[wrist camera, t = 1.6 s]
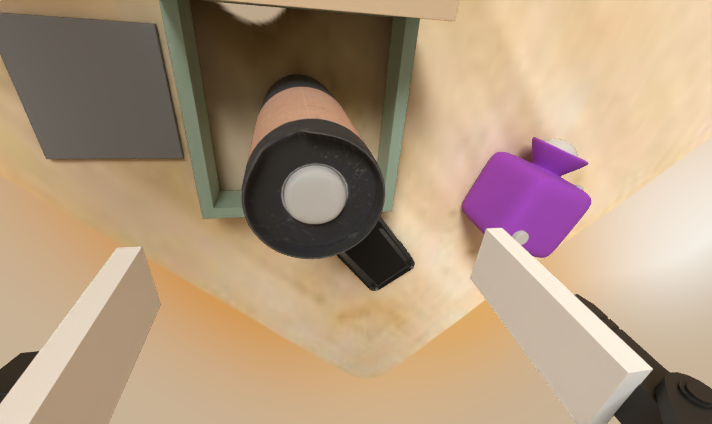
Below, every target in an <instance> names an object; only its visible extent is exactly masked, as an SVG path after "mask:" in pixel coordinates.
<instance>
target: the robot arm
mask: <svg viewBox="0 0 712 424" xmlns="http://www.w3.org/2000/svg"><path fill="white" fill-rule="evenodd" d="M470 279H471V280H472V281H473V283H474V284H475V285H476V287H477V288H478V290H479V291H480V292H481V294H482V295H483V296H484V298H485V299H486V300H487V302H488V303H489V305H490V306H491V307H492V309H493V310H494V311H495V313H496V314H497V316H498V317H499V318H500V320H501V321H502V322H503V324H504V325H505V326H506V328H507V329H508V331H509V332H510V333H511V335H512V336H513V337H514V339H515V340H516V342H517V343H518V344H519V346H520V347H521V348H522V350H523V351H524V353H525V354H526V355H527V356H528V358H529V359H530V361H531V362H532V363H533V365H534V366H535V368H536V369H537V370H538V372H539V373H540V374H541V375H542V377H543V378H544V380H545V381H546V383H547V384H548V385H549V386H550V388H551V389H552V391H553V392H554V394H555V395H556V396H557V398H558V399H559V400H560V402H561V403H562V404H563V406H564V407H565V408H566V410H567V411H568V413H569V414H570V415H571V417H572V418H573V419H574V421H575V422H576V424H607V423H608V422H609V420H610V419H611V418H612V417H613V416H615V417H616V418H617V419H618V420H619V422H620V423H621V424H712V389H711V388H710V387H708V386H707V385H705V384H704V383H702V382H701V381H699V380H697V379H695V378H692V377H691V376H688V375H685V374H681V373H678V372H676V373H670V372H669V371H667V370H666V369H665V368H664V367H663V366H661V365H660V364H659V363H658V362H657V361H656V360H655V359H654V358H653V357H651V356H650V355H649V354H648V353H647V352H646V351H645V350H643V348H641V347H640V346H639V345H638V344H637V343H636V342H635V341H634V340H632V338H631V337H629V336H628V335H627V334H626V333H625V332H624V331H623V330H620V329H619V327H618V326H617V325H616V324H615V323H614V322H613V321H612V320H611V319H608V317H607V316H606V315H605V314H604V313H603V312H602V311H601V310H600V309H598V308H597V307H596V306H595V305H594V304H592V303H591V302H589V301H587V300H586V299H584V298H583V297H581V296H579V295H578V294H576V295H573V294H572V293H571V292H570V291H569V290H568V289H567V288H566V287H565V286H564V285H563V284H562V283H561V282H560V281H558V280H557V279H556V278H555V277H554V276H553V275H552V274H551V273H550V272H549V271H548V270H547V269H545V267H543V266H542V265H541V264H540V263H539V262H538V261H537V260H536V259H535V258H534V257H533V256H532V255H531V254H530V253H529V252H528V251H526V250H525V249H524V248H523V247H522V246H521V245H520V244H519V243H518V242H517V241H516V240H515V239H514V238H513V237H511V236H510V235H509V234H508V233H507V232H506V231H505V230H504V229H503V228H488V229H486V230H485V234H484V237H483V240H482V243H481V246H480V249H479V252H478V255H477V259H476V262H475V265H474V268H473V271H472V274H471V277H470ZM160 305H161V303H160V300H159V297H158V294H157V291H156V288H155V285H154V282H153V279H152V276H151V273H150V269H149V266H148V263H147V260H146V257H145V254H144V251H143V248H142V246H141V247H121V248H116V250H115V251H114V252H113V254H112V255H111V257H110V258H109V259H108V260H107V262H106V263H105V264H104V266H103V267H102V268H101V270H100V271H99V273H98V274H97V275H96V277H95V278H94V279H93V280H92V282H91V283H90V284H89V286H88V287H87V288H86V290H85V291H84V293H83V294H82V295H81V297H80V298H79V299H78V300H77V302H76V303H75V304H74V306H73V307H72V309H71V310H70V311H69V313H68V314H67V316H66V317H65V318H64V319H63V321H62V322H61V323H60V325H59V326H58V327H57V329H56V330H55V331H54V333H53V334H52V335H51V337H50V338H49V340H48V341H47V342H46V343H45V345H44V346H43V347H42V349H41V350H40V351H37V352H27V353H20V354H19V355H18V356H17V357H15V358H14V359H13V360H11V361H10V362H9V363H8V364H6V365H5V366H4V367H3V368H1V369H0V424H109V422H110V419H111V417H112V415H113V412H114V410H115V408H116V406H117V403H118V401H119V399H120V397H121V394H122V392H123V390H124V387H125V385H126V383H127V381H128V378H129V376H130V374H131V371H132V369H133V367H134V365H135V362H136V360H137V358H138V356H139V353H140V351H141V349H142V346H143V344H144V342H145V340H146V337H147V335H148V333H149V331H150V328H151V326H152V324H153V321H154V319H155V317H156V315H157V312H158V310H159V308H160Z"/></svg>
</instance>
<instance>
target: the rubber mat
mask: <svg viewBox="0 0 712 424" xmlns="http://www.w3.org/2000/svg"><path fill="white" fill-rule="evenodd" d="M0 55H1V57H2V59H3V61H4V64H5V66H6V68H7V71H8V73H9V75H10V77H11V80H12V82H13V84H14V87H15V89H16V91H17V93H18V96H19V98H20V100H21V102H22V105H23V107H24V109H25V112H26V114H27V116H28V118H29V121H30V123H31V125H32V128H33V130H34V132H35V134H36V137H37V139H38V141H39V143H40V146H41V148H42V150H43V153H44V155H45V157H46V159H171V158H183V157H184V156H183V151H182V146H181V142H180V137H179V132H178V127H177V123H176V118H175V113H174V108H173V104H172V99H171V94H170V89H169V85H168V80H167V75H166V71H165V66H164V61H163V56H162V52H161V47H160V42H159V37H158V33H157V28H156V24H148V23H135V22H121V21H107V20H93V19H80V18H66V17H52V16H38V15H25V14H11V13H0Z"/></svg>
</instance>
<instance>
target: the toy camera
mask: <svg viewBox="0 0 712 424" xmlns="http://www.w3.org/2000/svg"><path fill="white" fill-rule="evenodd" d="M532 154H533V161H532V163H531V162H529V161H527V160H524V159H522V158H520V157H517V156H515V155H512V154H509V153H506V152H497V153H495V154H494V155H493V156H492V157H491V159H490V160H489V161H488V163H487V165H486V166H485V168H484V169H483V171H482V172H481V174H480V175H479V177H478V179H477V180H476V182H475V183H474V185H473V187H472V188H471V190H470V191H469V193H468V195H467V196H466V198H465V200H464V202H463V204H462V209H463V211H464V213H465V214H466V215H467V217H468V218H469V219H470V220H471V221H472V222H473V223H474V224H475V225H476V226H477V227H478V228H479V229H480V230H481V231H482V233H483V234H485V230H486V229H488V228H503V229H504V230H505V231H506V232H507V233H508V234H509V235H510V236H511V237H513V238H514V239H515V240H516V241H517V242H518V243H519V244H520V245H521V246H522V247H523V248H524V249H525V250H526V251H528V252H529V253H530V254H531V255H532V256H535V257H540V258H544V257H547V256H549V255H550V254H551V253H552V252H553V251H554V250H555V249H556V248H557V247H558V245H559V244H560V243H561V242H562V241H563V240H564V238H565V237H566V236H567V235H568V233H569V232H570V231H571V230H572V229H573V227H574V226H575V225H576V224H577V223H578V221H579V220H580V219H581V218H582V216H583V215H584V214H585V213H586V211H587V210H588V208H589V207H590V205H591V198H590V197H589V195H588V194H587V193H585V192H584V191H583V188H582V187H581V186H579V185H573V184H571V183H570V182H568V181H566V180H564V179H563V178H561V176H562V175H564V174H567V173H569V172H572V171H575V170H577V169H580V168H582V167H584V166H586V165H588V162H587V161H585V160H583V159H581V158H578V154H577V151H576V149H575V147H574V146H573V145H572V144H570V143H569V142H567V141H565V140H562V139H549V140H546V141H542V140H540V139H538V138H535V137H533V139H532Z"/></svg>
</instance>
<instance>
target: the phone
mask: <svg viewBox="0 0 712 424" xmlns="http://www.w3.org/2000/svg"><path fill="white" fill-rule="evenodd" d="M337 256H338V257H339V258H340V259H341V260H342V261H343V262H344V263H345V264H346V265H347V266H348V267H349V268H350V269H351V270H352V271H353V272H354V273H355V275H356V276H357V277H358V278H359V279H360V280H361V281H362V282H363V283H364V284H365V285H366V286H367V287H368V288H369V289H370V290H372V291H376V290H379V289H381V288H383V287H384V286H386V285H387V284H389V283H390V282H392V281H394V280H395V279H397V278H398V277H400V276H402V275H403V274H405V273H406V272H408V271H410V270H411V269H412V268H413V267H414V265H415V263H414V261H413V259H412V257H411V255H410V254H409V253H408V252H407V250H406V248H405V247H404V246H403V244H402V243H401V242H400V241H399V240H398V239H397V238H396V236H395V235H394V234H393V232H392V231H391V230H390V228H389V227H388V226H387V225H386V223H385V222H384V221H383V219H382V218H381V217H380V218H379V220H378V222H377V224H376V225H375V227H374V228H373V230H372V231H371V232H370V233H369V234H368V235H367V236H366V237H365V239H363V240H362V241H361V242H360V243H359V244H357V245H356V246H354V247H352V248H351V249H349V250H347V251H345V252H343V253H340V254H338V255H337Z"/></svg>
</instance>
